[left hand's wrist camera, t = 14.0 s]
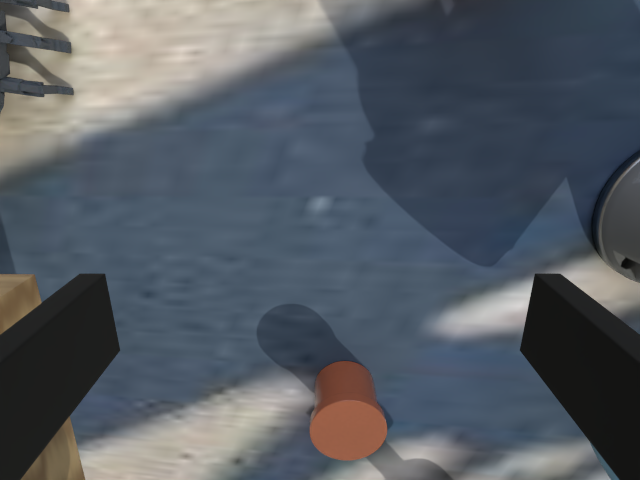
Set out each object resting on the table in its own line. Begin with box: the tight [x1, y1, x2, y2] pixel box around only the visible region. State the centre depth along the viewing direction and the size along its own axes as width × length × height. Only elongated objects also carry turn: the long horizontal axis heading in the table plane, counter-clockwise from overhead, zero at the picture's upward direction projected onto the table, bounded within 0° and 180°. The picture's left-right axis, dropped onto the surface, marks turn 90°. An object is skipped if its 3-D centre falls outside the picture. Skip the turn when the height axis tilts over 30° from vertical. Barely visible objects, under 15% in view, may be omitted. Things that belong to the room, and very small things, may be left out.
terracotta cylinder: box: [310, 361, 387, 460], centre depth 45 cm, size 8×8×7 cm
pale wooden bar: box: [0, 274, 85, 480], centre depth 29 cm, size 26×4×8 cm, turn 179°
